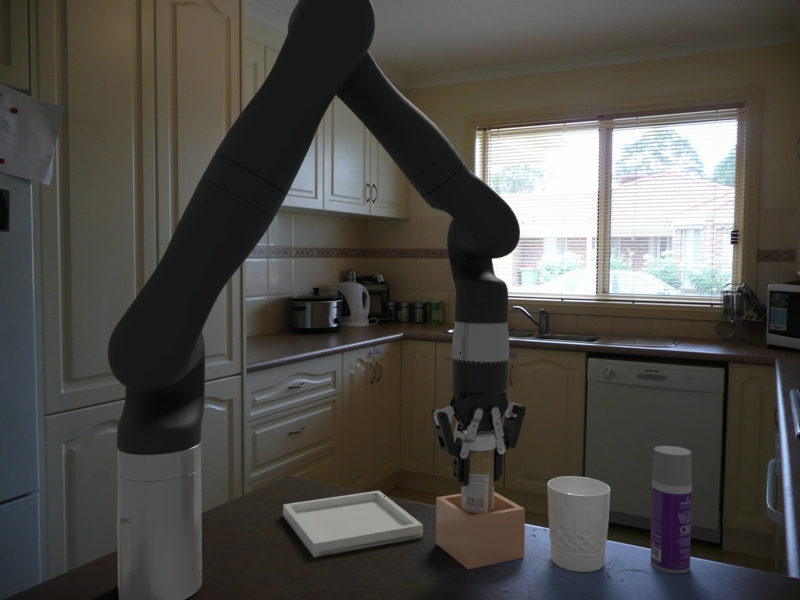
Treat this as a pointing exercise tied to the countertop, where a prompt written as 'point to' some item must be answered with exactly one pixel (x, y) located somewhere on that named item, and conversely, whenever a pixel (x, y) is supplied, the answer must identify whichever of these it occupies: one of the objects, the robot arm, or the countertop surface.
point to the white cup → (578, 522)
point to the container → (671, 509)
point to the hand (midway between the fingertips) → (477, 481)
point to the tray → (350, 523)
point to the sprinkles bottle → (480, 476)
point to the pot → (480, 531)
